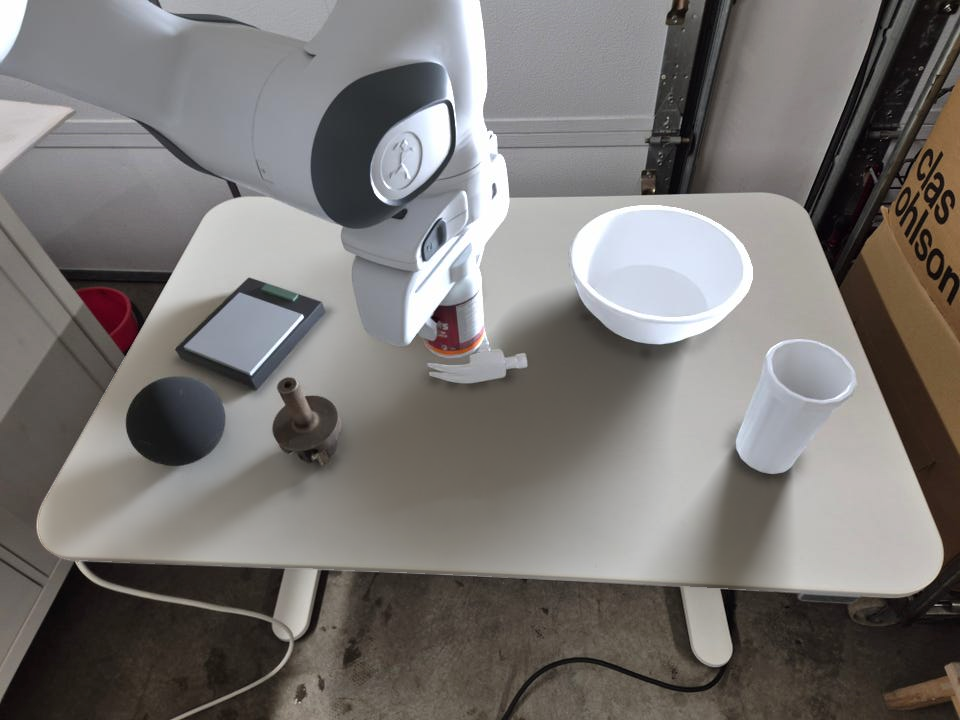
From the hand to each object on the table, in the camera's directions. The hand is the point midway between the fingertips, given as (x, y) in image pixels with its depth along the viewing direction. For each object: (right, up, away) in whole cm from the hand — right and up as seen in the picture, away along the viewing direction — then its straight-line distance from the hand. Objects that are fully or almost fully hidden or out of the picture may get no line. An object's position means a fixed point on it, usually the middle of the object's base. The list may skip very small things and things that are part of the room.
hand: (449, 308), depth 58 cm
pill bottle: (0, -3, +3) cm, 4 cm away
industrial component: (-16, -16, +13) cm, 26 cm away
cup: (+34, -15, +10) cm, 39 cm away
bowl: (+26, +2, +25) cm, 36 cm away
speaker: (-31, -15, +14) cm, 37 cm away
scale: (-28, -2, +25) cm, 38 cm away
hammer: (0, +3, +28) cm, 28 cm away
